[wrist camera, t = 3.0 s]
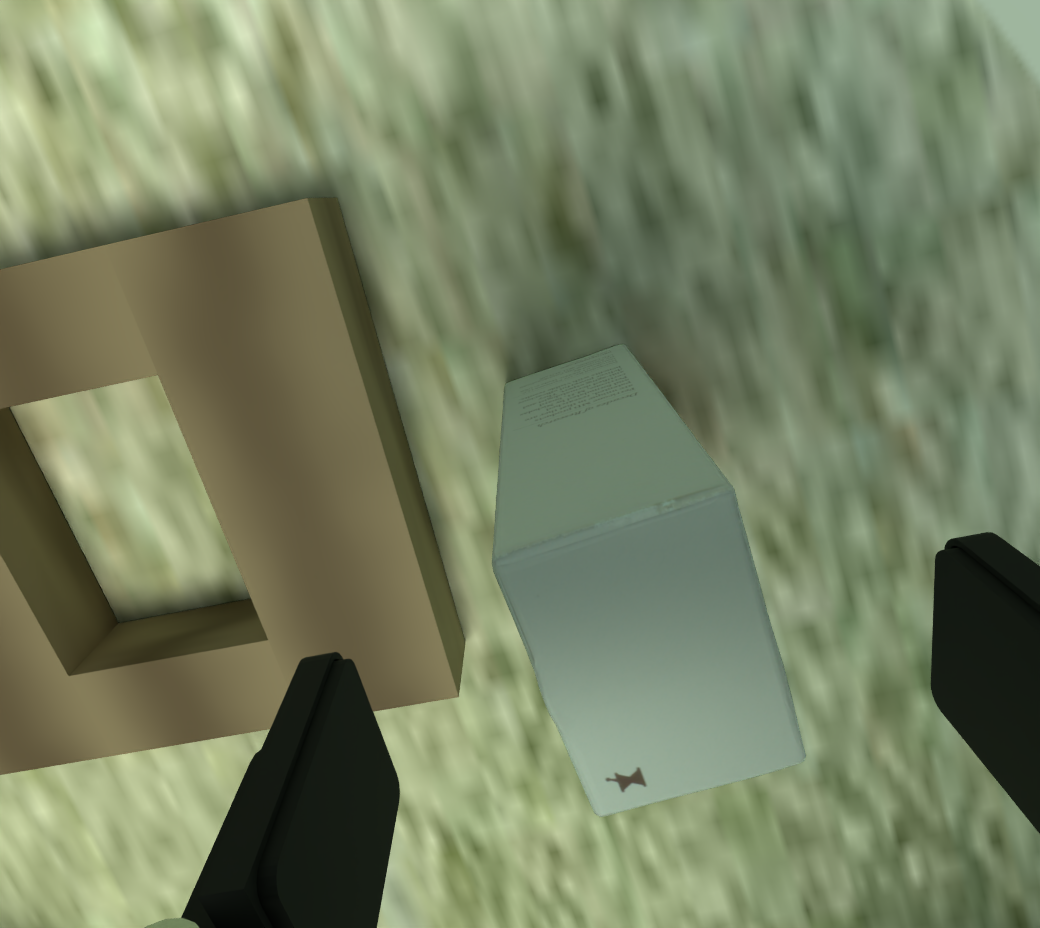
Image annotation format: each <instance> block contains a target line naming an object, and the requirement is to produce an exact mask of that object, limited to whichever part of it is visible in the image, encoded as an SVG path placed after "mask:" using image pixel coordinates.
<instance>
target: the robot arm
mask: <svg viewBox="0 0 1040 928" xmlns="http://www.w3.org/2000/svg"><path fill="white" fill-rule="evenodd" d="M931 690H932V694H933V697H934V700H935V702H936V704H937V706H938V708H939V709H940V711H941V712H942V713H943V714H944V716H945V717H946V718H947V719H948V721H949V722H950V723H951V724H952V726H953V727H954V728H955V729H956V731H957V732H958V733H959V734H960V735H961V737H962V738H963V739H964V740H965V742H966V743H967V744H968V745H969V747H970V748H971V749H972V750H973V752H974V753H975V754H976V755H977V757H978V758H979V759H980V760H981V761H982V763H983V764H984V765H985V766H986V768H987V769H988V770H989V771H990V773H991V774H992V775H993V776H994V778H995V779H996V780H997V781H998V783H999V784H1000V785H1001V786H1002V787H1003V789H1004V790H1005V791H1006V792H1007V794H1008V795H1009V796H1010V797H1011V799H1012V800H1013V801H1014V802H1015V804H1016V805H1017V806H1018V807H1019V809H1020V810H1021V811H1022V812H1023V814H1024V815H1025V816H1026V817H1027V818H1028V820H1029V821H1030V822H1031V823H1032V825H1033V826H1034V827H1035V828H1036V830H1037V831H1038V832H1039V833H1040V566H1039V565H1037V564H1036V563H1035V562H1033V561H1032V560H1030V559H1029V558H1028V557H1026V556H1025V555H1024V554H1022V553H1021V552H1020V551H1018V550H1017V549H1015V548H1014V547H1013V546H1011V545H1010V544H1009V543H1007V542H1006V541H1005V540H1003V539H1002V538H1000V537H999V536H998V535H996V534H994V533H989V532H986V533H981V534H975V535H970V536H964V537H959V538H953V539H950V540H949V541H947V543H946V545H945V549H944V550H941V551H939V552H938V553H937V554H936V558H935V578H934V608H933V637H932V666H931ZM399 798H400V788H399V781H398V777H397V773H396V771H395V768H394V766H393V763H392V760H391V758H390V755H389V752H388V750H387V747H386V745H385V742H384V739H383V737H382V734H381V731H380V729H379V726H378V724H377V721H376V718H375V716H374V713H373V710H372V708H371V705H370V703H369V700H368V697H367V695H366V692H365V689H364V687H363V684H362V681H361V679H360V676H359V674H358V671H357V668H356V666H355V664H354V662H353V660H352V659H343V657H342V656H341V655H340V653H338V652H332V653H326V654H321V655H315V656H310V657H305V658H303V659H301V661H300V662H299V664H298V666H297V669H296V671H295V673H294V675H293V678H292V680H291V682H290V685H289V687H288V689H287V692H286V694H285V696H284V698H283V701H282V703H281V705H280V708H279V710H278V712H277V714H276V717H275V719H274V721H273V724H272V726H271V728H270V731H269V733H268V735H267V737H266V740H265V742H264V744H263V747H262V749H261V750H260V751H259V752H257V753H256V754H255V755H254V757H253V759H252V760H251V762H250V764H249V766H248V769H247V771H246V773H245V775H244V778H243V780H242V782H241V784H240V787H239V789H238V791H237V793H236V796H235V798H234V800H233V802H232V805H231V807H230V809H229V811H228V814H227V816H226V818H225V820H224V823H223V825H222V827H221V829H220V832H219V834H218V836H217V838H216V841H215V843H214V845H213V847H212V850H211V852H210V854H209V856H208V859H207V861H206V863H205V865H204V868H203V870H202V872H201V874H200V877H199V879H198V881H197V883H196V886H195V888H194V890H193V892H192V895H191V897H190V899H189V901H188V904H187V906H186V908H185V910H184V913H183V915H182V917H181V918H174V919H165V920H162V921H159V922H157V923H154V924H151V925H148V926H146V927H145V928H377V923H378V917H379V912H380V906H381V900H382V895H383V889H384V884H385V878H386V872H387V867H388V861H389V856H390V850H391V844H392V839H393V833H394V827H395V822H396V816H397V811H398V805H399Z"/></svg>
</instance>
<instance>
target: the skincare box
mask: <svg viewBox="0 0 1040 928" xmlns="http://www.w3.org/2000/svg"><path fill="white" fill-rule="evenodd" d="M492 566H493V572H494V574H495V576H496V579H497V581H498V584H499V586H500V588H501V591H502V593H503V595H504V598H505V600H506V603H507V605H508V607H509V610H510V612H511V614H512V617H513V619H514V621H515V624H516V627H517V629H518V632H519V634H520V637H521V639H522V641H523V644H524V646H525V649H526V651H527V653H528V656H529V659H530V661H531V664H532V667H533V669H534V672H535V675H536V679H537V682H538V686H539V689H540V692H541V694H542V697H543V700H544V702H545V705H546V707H547V709H548V712H549V714H550V716H551V718H552V720H553V721H554V723H555V724H556V726H557V728H558V731H559V733H560V735H561V738H562V740H563V742H564V745H565V747H566V749H567V752H568V754H569V756H570V759H571V761H572V763H573V765H574V768H575V770H576V772H577V775H578V777H579V779H580V781H581V784H582V786H583V788H584V791H585V793H586V795H587V798H588V800H589V802H590V804H591V807H592V809H593V811H594V813H595V814H596V815H598V816H600V817H603V816H607V815H611V814H615V813H619V812H622V811H626V810H630V809H633V808H637V807H641V806H645V805H648V804H652V803H656V802H660V801H663V800H667V799H671V798H675V797H679V796H683V795H686V794H690V793H695V792H699V791H703V790H707V789H711V788H715V787H718V786H722V785H726V784H730V783H733V782H737V781H741V780H745V779H749V778H753V777H757V776H760V775H764V774H767V773H771V772H774V771H777V770H781V769H784V768H787V767H790V766H793V765H797V764H799V763H801V762H803V761H804V760H805V757H806V754H805V750H804V746H803V742H802V738H801V734H800V730H799V726H798V722H797V717H796V713H795V708H794V704H793V700H792V696H791V692H790V688H789V684H788V680H787V676H786V672H785V669H784V665H783V662H782V659H781V656H780V652H779V649H778V646H777V643H776V640H775V636H774V633H773V630H772V626H771V623H770V620H769V616H768V613H767V609H766V605H765V602H764V598H763V594H762V591H761V587H760V583H759V579H758V576H757V572H756V568H755V565H754V561H753V557H752V554H751V550H750V547H749V543H748V539H747V536H746V532H745V528H744V525H743V521H742V517H741V514H740V510H739V507H738V503H737V498H736V494H735V490H734V488H733V486H732V485H731V484H730V483H729V482H728V480H727V479H726V477H725V476H724V475H723V474H722V472H721V471H720V469H719V468H718V467H717V465H716V464H715V463H714V461H713V460H712V459H711V458H710V456H709V455H708V454H707V452H706V451H705V450H704V449H703V447H702V446H701V445H700V443H699V442H698V441H697V439H696V438H695V437H694V435H693V434H692V432H691V431H690V429H689V428H688V427H687V426H686V424H685V423H684V422H683V421H682V419H681V418H680V416H679V415H678V414H677V412H676V411H675V410H674V408H673V407H672V406H671V404H670V403H669V402H668V400H667V399H666V398H665V396H664V395H663V394H662V392H661V391H660V390H659V388H658V387H657V386H656V384H655V383H654V382H653V380H652V379H651V378H650V377H649V376H648V374H647V373H646V371H645V370H644V369H643V368H642V366H641V365H640V363H639V362H638V361H637V360H636V358H635V357H634V356H633V355H632V353H631V352H630V351H629V349H628V348H627V346H626V345H624V344H621V345H616V346H613V347H610V348H608V349H605V350H602V351H600V352H597V353H594V354H592V355H589V356H586V357H583V358H580V359H576V360H573V361H570V362H567V363H564V364H561V365H558V366H555V367H552V368H549V369H546V370H543V371H540V372H537V373H534V374H531V375H528V376H525V377H522V378H519V379H516V380H513V381H511V382H508V383H506V384H505V387H504V400H503V415H502V428H501V441H500V455H499V470H498V482H497V495H496V510H495V526H494V543H493V554H492Z"/></svg>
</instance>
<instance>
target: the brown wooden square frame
mask: <svg viewBox="0 0 1040 928" xmlns="http://www.w3.org/2000/svg"><path fill="white" fill-rule="evenodd" d="M155 375H158V376H159V379H160V381H161V383H162V386H163V388H164V391H165V393H166V395H167V398H168V400H169V403H170V405H171V407H172V410H173V412H174V415H175V417H176V419H177V422H178V424H179V427H180V429H181V431H182V434H183V436H184V439H185V441H186V443H187V446H188V448H189V451H190V453H191V455H192V458H193V460H194V463H195V465H196V467H197V470H198V472H199V475H200V477H201V479H202V482H203V484H204V487H205V489H206V491H207V494H208V496H209V499H210V501H211V503H212V506H213V508H214V511H215V513H216V515H217V518H218V520H219V523H220V525H221V528H222V530H223V532H224V535H225V537H226V540H227V542H228V544H229V547H230V549H231V552H232V554H233V556H234V559H235V561H236V564H237V566H238V568H239V571H240V573H241V576H242V578H243V580H244V583H245V585H246V588H247V590H248V592H249V595H250V597H251V599H247V600H241V601H236V602H231V603H225V604H220V605H214V606H209V607H204V608H198V609H193V610H188V611H182V612H177V613H171V614H166V615H161V616H155V617H150V618H145V619H139V620H134V621H128V622H123V623H118V622H117V620H116V618H115V616H114V614H113V612H112V610H111V608H110V606H109V604H108V602H107V600H106V598H105V596H104V594H103V592H102V590H101V588H100V586H99V584H98V583H97V581H96V579H95V577H94V575H93V573H92V571H91V569H90V567H89V565H88V563H87V561H86V559H85V557H84V555H83V553H82V551H81V549H80V547H79V545H78V543H77V541H76V539H75V537H74V535H73V533H72V531H71V529H70V527H69V525H68V523H67V522H66V520H65V518H64V516H63V514H62V512H61V510H60V508H59V506H58V504H57V502H56V500H55V498H54V496H53V494H52V492H51V490H50V488H49V486H48V484H47V482H46V480H45V478H44V476H43V474H42V472H41V470H40V468H39V466H38V464H37V462H36V461H35V459H34V457H33V455H32V453H31V451H30V449H29V447H28V445H27V443H26V441H25V439H24V437H23V435H22V433H21V431H20V429H19V427H18V425H17V423H16V421H15V419H14V417H13V415H12V413H11V411H10V409H9V407H11V406H16V405H20V404H25V403H30V402H34V401H39V400H43V399H48V398H53V397H57V396H62V395H67V394H71V393H76V392H81V391H85V390H90V389H95V388H99V387H104V386H109V385H113V384H118V383H123V382H127V381H132V380H137V379H141V378H146V377H150V376H155ZM464 650H465V639H464V636H463V632H462V629H461V625H460V622H459V619H458V615H457V612H456V608H455V605H454V601H453V598H452V594H451V591H450V587H449V584H448V580H447V577H446V573H445V570H444V567H443V563H442V560H441V556H440V553H439V549H438V546H437V542H436V539H435V535H434V532H433V528H432V525H431V521H430V518H429V515H428V511H427V508H426V504H425V501H424V497H423V494H422V490H421V487H420V483H419V480H418V476H417V473H416V469H415V466H414V463H413V459H412V456H411V452H410V449H409V445H408V442H407V438H406V435H405V431H404V428H403V424H402V421H401V417H400V414H399V411H398V407H397V404H396V400H395V397H394V393H393V390H392V386H391V383H390V379H389V376H388V372H387V369H386V365H385V362H384V359H383V355H382V352H381V348H380V345H379V341H378V338H377V334H376V331H375V327H374V324H373V320H372V317H371V313H370V310H369V307H368V303H367V300H366V296H365V293H364V289H363V286H362V282H361V279H360V275H359V272H358V268H357V265H356V261H355V258H354V255H353V251H352V248H351V244H350V241H349V237H348V234H347V230H346V227H345V223H344V220H343V216H342V213H341V209H340V206H339V203H338V199H337V198H305V199H301V200H297V201H292V202H288V203H284V204H279V205H275V206H271V207H267V208H262V209H258V210H254V211H249V212H245V213H241V214H236V215H232V216H228V217H223V218H219V219H215V220H211V221H206V222H202V223H198V224H193V225H189V226H185V227H180V228H176V229H172V230H167V231H163V232H159V233H154V234H150V235H146V236H142V237H137V238H133V239H129V240H124V241H120V242H116V243H111V244H107V245H103V246H98V247H94V248H90V249H86V250H81V251H77V252H73V253H68V254H64V255H60V256H55V257H51V258H47V259H42V260H38V261H34V262H30V263H25V264H21V265H17V266H12V267H8V268H4V269H0V775H2V774H8V773H14V772H20V771H26V770H32V769H38V768H44V767H50V766H55V765H61V764H67V763H73V762H79V761H85V760H91V759H97V758H102V757H108V756H114V755H120V754H126V753H132V752H138V751H144V750H150V749H155V748H161V747H167V746H173V745H179V744H185V743H191V742H197V741H202V740H208V739H214V738H220V737H226V736H232V735H238V734H244V733H250V732H255V731H261V730H267V729H270V728H271V726H272V724H273V721H274V719H275V717H276V714H277V712H278V710H279V708H280V705H281V703H282V701H283V698H284V696H285V694H286V692H287V689H288V687H289V685H290V682H291V680H292V678H293V675H294V673H295V671H296V669H297V666H298V664H299V662H300V661H301V659H303V658H305V657H310V656H315V655H321V654H326V653H332V652H338V653H340V655H341V656H342V657H343V659H352V660H353V662H354V664H355V666H356V668H357V671H358V674H359V676H360V679H361V681H362V684H363V687H364V689H365V692H366V695H367V697H368V700H369V703H370V705H371V708H372V710H373V711H379V710H385V709H391V708H397V707H402V706H408V705H414V704H420V703H426V702H432V701H438V700H444V699H450V698H455V697H459V690H460V682H461V674H462V666H463V658H464Z"/></svg>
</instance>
